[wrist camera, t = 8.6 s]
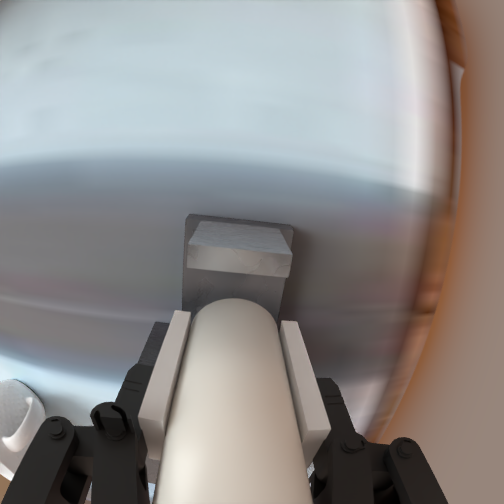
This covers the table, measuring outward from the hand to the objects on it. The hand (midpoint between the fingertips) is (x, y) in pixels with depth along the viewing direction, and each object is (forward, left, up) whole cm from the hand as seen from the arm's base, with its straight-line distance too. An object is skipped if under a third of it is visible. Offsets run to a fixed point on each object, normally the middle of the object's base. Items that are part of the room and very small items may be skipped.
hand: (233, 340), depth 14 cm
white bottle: (0, 0, 0) cm, 0 cm away
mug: (+22, -27, -8) cm, 36 cm away
